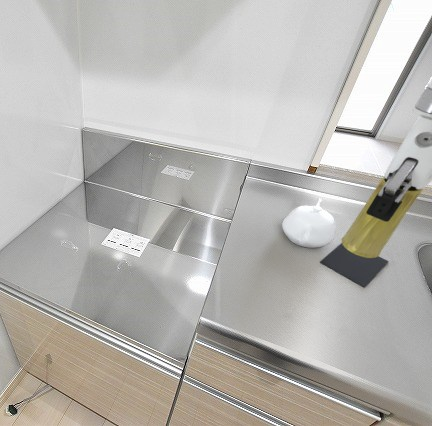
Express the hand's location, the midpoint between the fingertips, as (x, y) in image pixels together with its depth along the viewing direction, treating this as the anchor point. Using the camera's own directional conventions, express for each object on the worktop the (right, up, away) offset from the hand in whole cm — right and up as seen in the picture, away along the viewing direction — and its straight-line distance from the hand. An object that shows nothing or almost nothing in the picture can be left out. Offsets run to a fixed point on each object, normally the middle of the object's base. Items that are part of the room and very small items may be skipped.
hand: (384, 209), depth 51 cm
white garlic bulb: (+7, -7, +32) cm, 33 cm away
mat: (+14, -13, +23) cm, 30 cm away
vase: (0, -7, +5) cm, 9 cm away
